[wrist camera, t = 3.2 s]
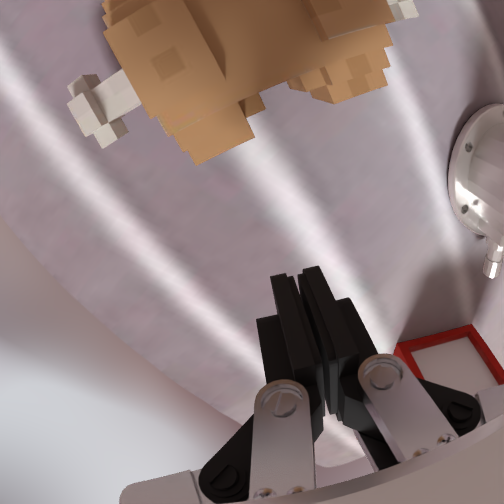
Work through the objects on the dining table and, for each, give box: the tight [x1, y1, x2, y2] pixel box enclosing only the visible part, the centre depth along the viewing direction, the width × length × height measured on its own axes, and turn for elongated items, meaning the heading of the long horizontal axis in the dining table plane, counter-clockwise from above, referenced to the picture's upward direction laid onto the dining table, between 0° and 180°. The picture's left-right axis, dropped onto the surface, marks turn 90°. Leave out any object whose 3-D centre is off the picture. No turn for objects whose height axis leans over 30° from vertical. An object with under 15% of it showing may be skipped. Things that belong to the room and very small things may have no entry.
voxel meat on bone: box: [67, 0, 419, 166], centre depth 13 cm, size 10×18×10 cm, turn 115°
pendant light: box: [393, 324, 504, 395], centre depth 23 cm, size 11×11×30 cm
